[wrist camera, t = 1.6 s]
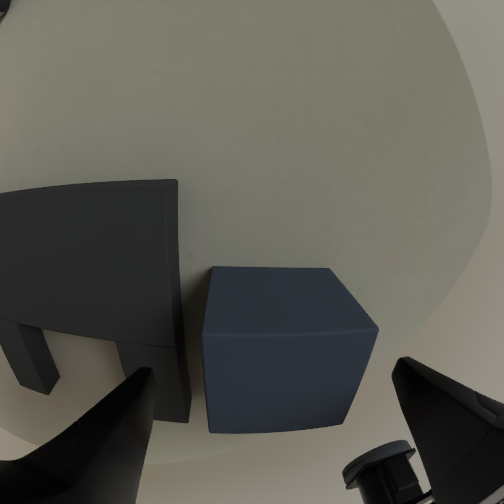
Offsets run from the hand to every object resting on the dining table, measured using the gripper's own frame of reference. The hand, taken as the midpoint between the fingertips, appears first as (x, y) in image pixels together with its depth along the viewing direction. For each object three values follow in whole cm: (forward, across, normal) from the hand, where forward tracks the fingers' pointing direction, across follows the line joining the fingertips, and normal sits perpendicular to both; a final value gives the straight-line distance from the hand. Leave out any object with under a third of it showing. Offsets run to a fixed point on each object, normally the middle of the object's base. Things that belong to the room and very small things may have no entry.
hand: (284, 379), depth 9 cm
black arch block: (+4, +10, 0) cm, 11 cm away
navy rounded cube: (+4, 0, 0) cm, 4 cm away
